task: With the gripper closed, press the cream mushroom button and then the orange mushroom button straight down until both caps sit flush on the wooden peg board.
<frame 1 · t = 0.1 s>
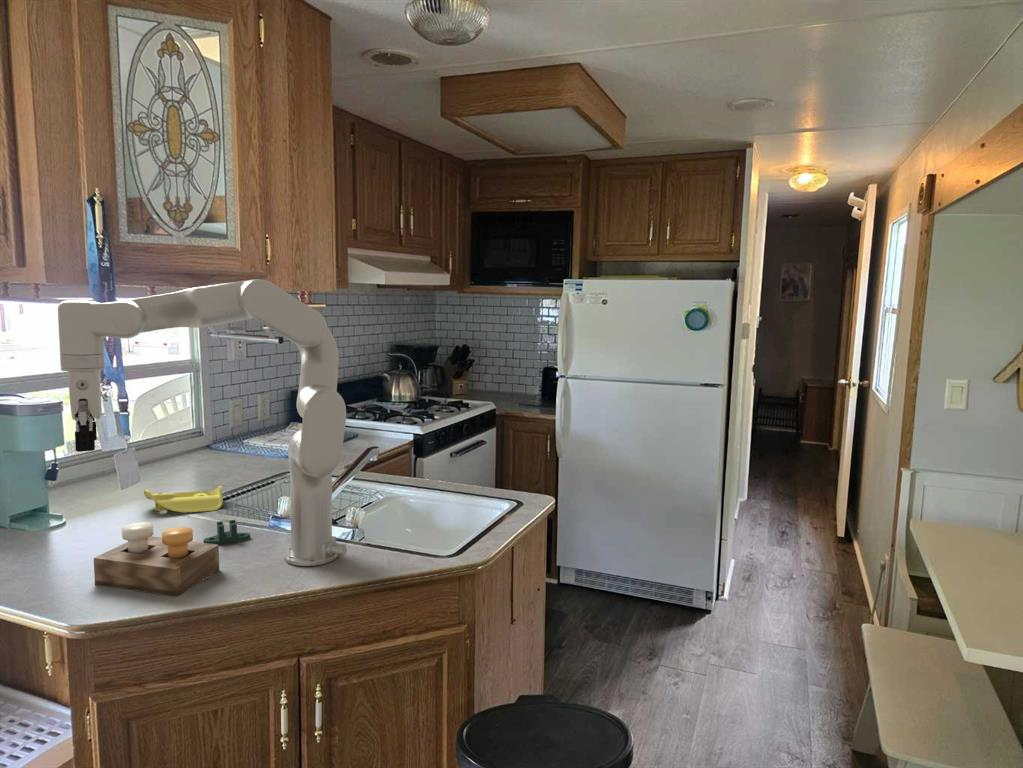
hand: (86, 445, 137), 31 cm above the counter, tool pointing down, fingers open, 9 cm apart
wooden peg board: (159, 577, 148), on the counter
cream button: (138, 539, 148), point 8 cm above the counter, slide at 0.0 cm
mount: (227, 542, 170), on the counter
plastic component: (184, 509, 194), on the counter
orange button: (177, 544, 146), point 8 cm above the counter, slide at 0.0 cm
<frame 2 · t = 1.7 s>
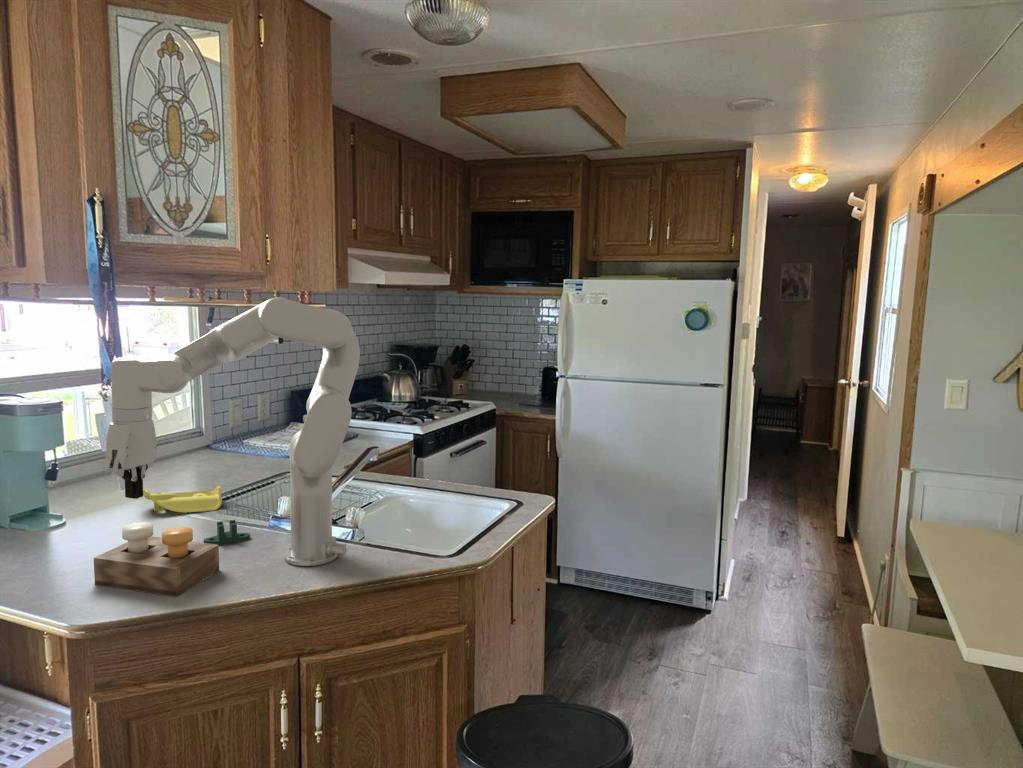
hand: (134, 497, 147), 18 cm above the counter, tool pointing down, fingers closed
nothing on the counter moved.
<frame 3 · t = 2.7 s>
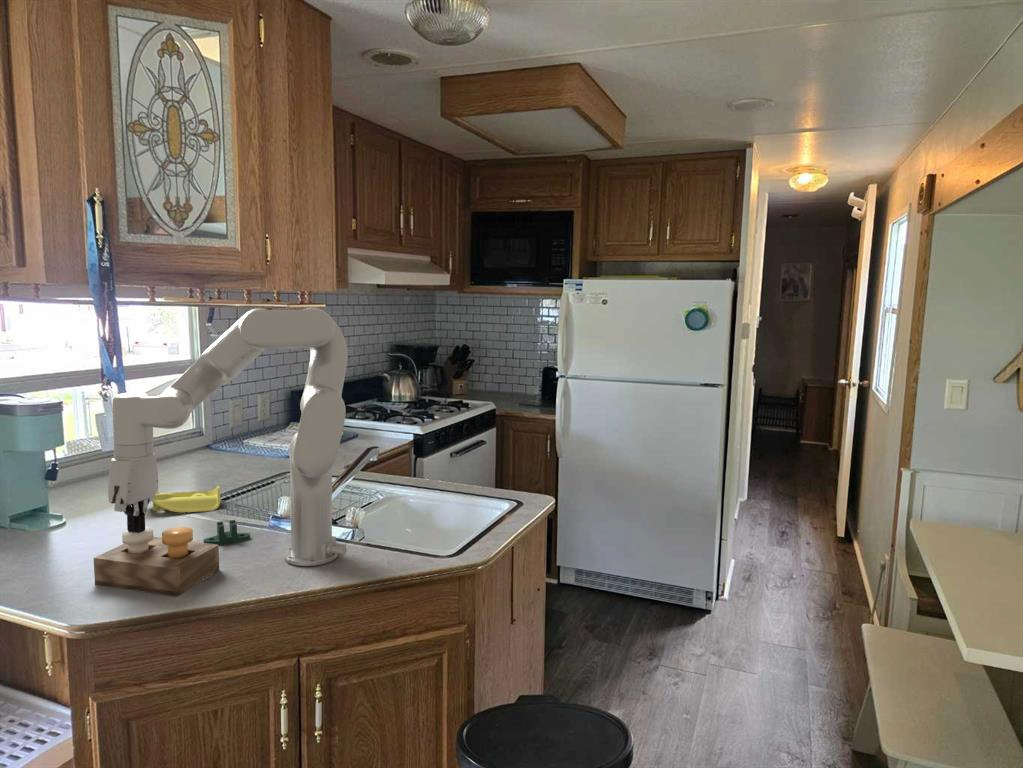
hand: (136, 530, 148), 10 cm above the counter, tool pointing down, fingers closed
cream button: (138, 544, 148), point 7 cm above the counter, slide at 1.0 cm, touching gripper
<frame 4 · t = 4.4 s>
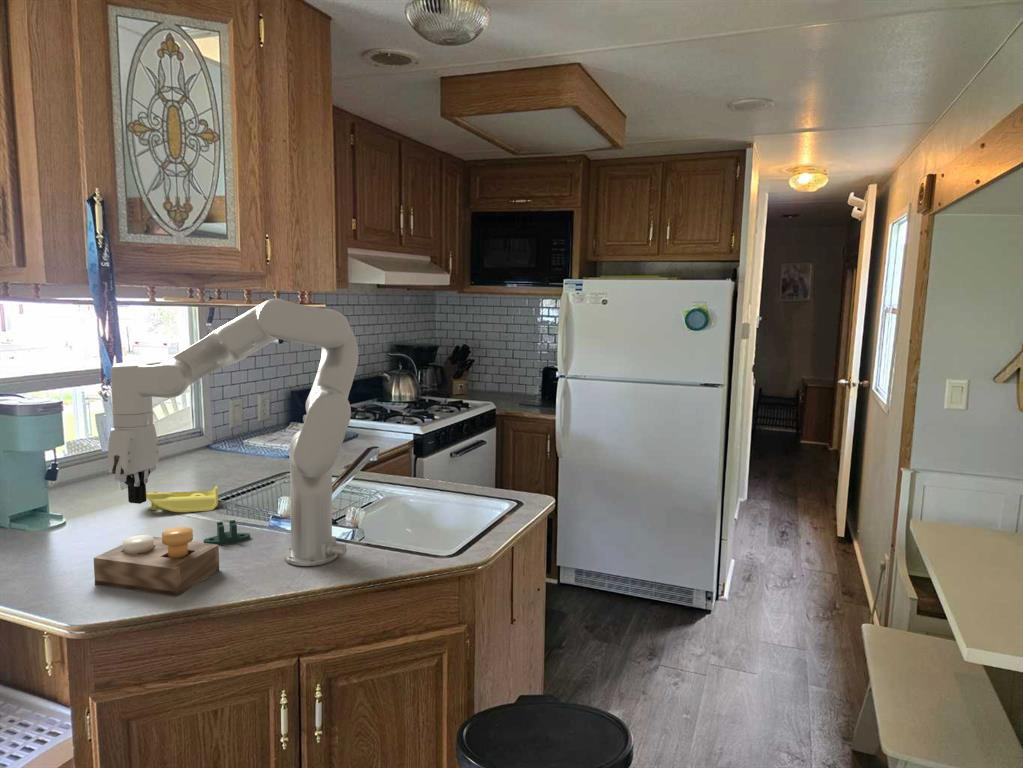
hand: (137, 501, 147), 17 cm above the counter, tool pointing down, fingers closed
cream button: (138, 552, 149), point 5 cm above the counter, slide at 3.0 cm, touching wooden peg board
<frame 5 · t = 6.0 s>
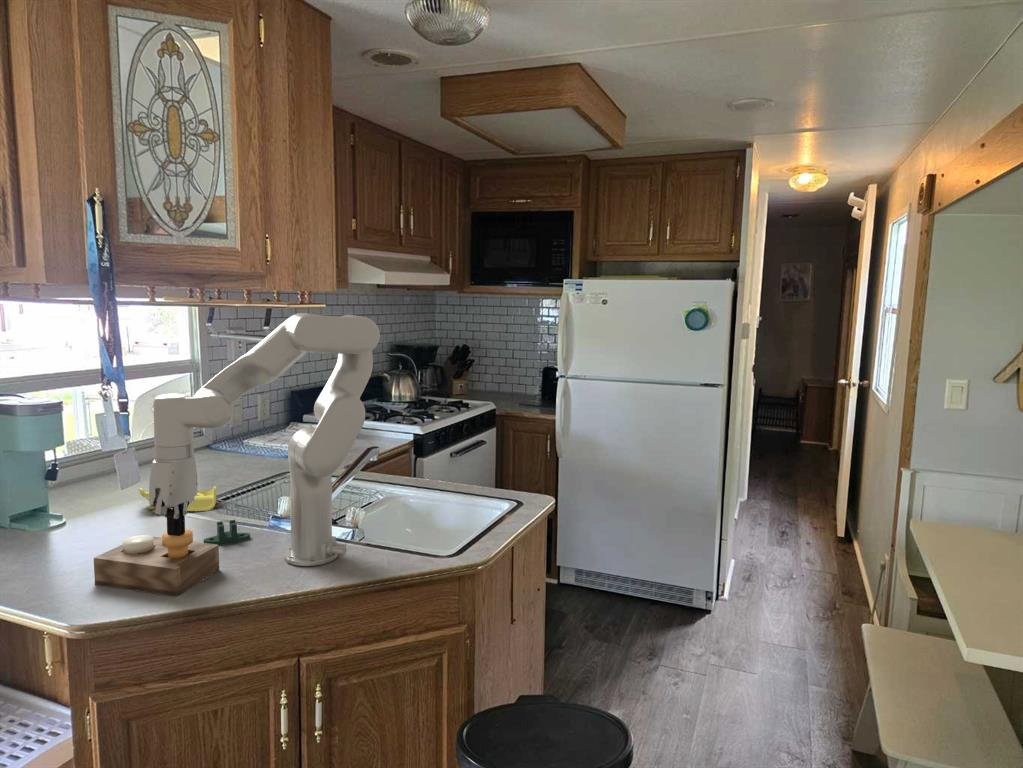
hand: (176, 534, 146), 11 cm above the counter, tool pointing down, fingers closed
orange button: (177, 547, 146), point 7 cm above the counter, slide at 0.5 cm, touching gripper
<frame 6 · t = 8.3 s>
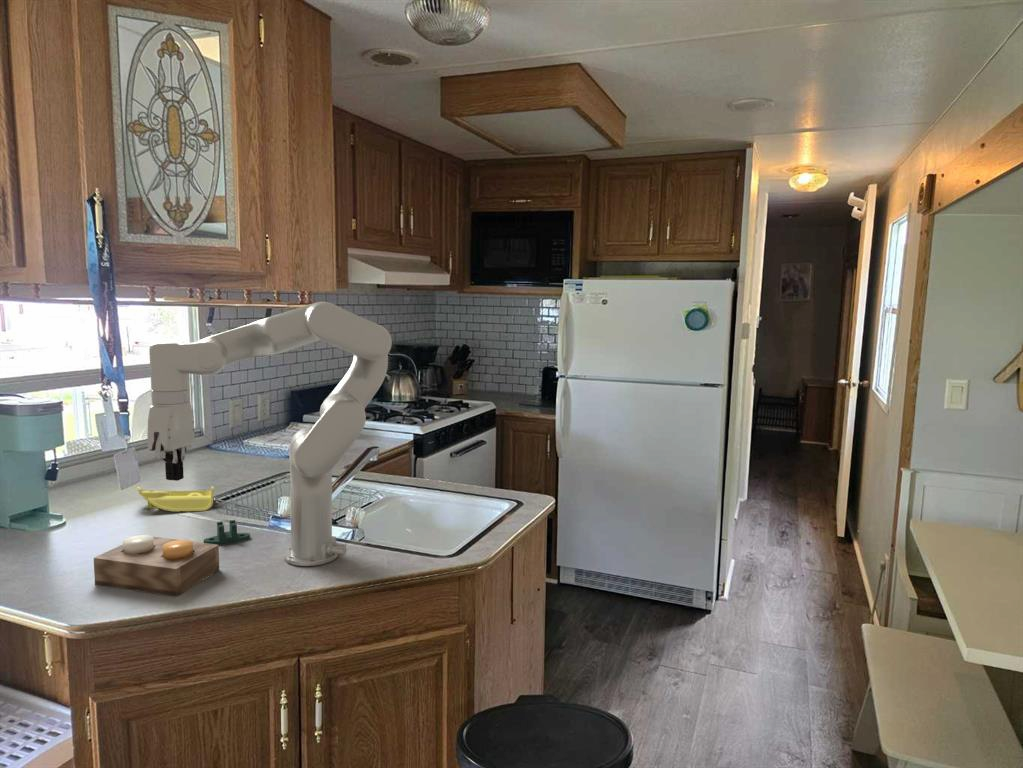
hand: (174, 479, 149), 22 cm above the counter, tool pointing down, fingers closed
orange button: (178, 558, 147), point 5 cm above the counter, slide at 3.0 cm, touching wooden peg board
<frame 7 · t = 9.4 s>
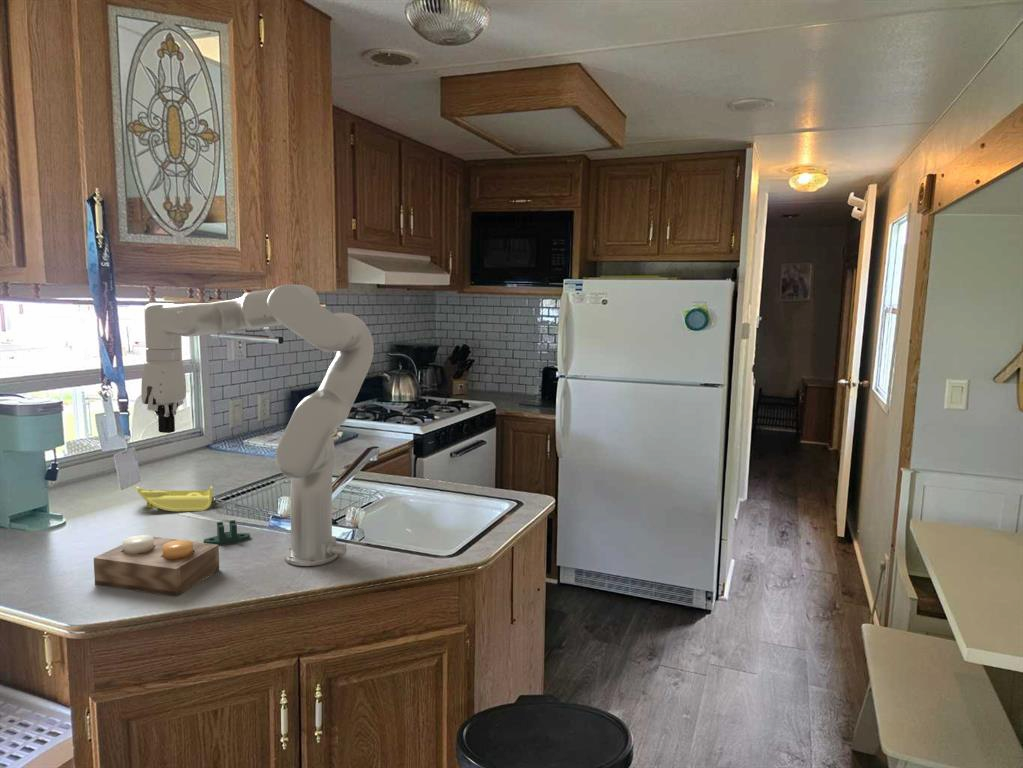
hand: (166, 431, 161), 29 cm above the counter, tool pointing down, fingers closed
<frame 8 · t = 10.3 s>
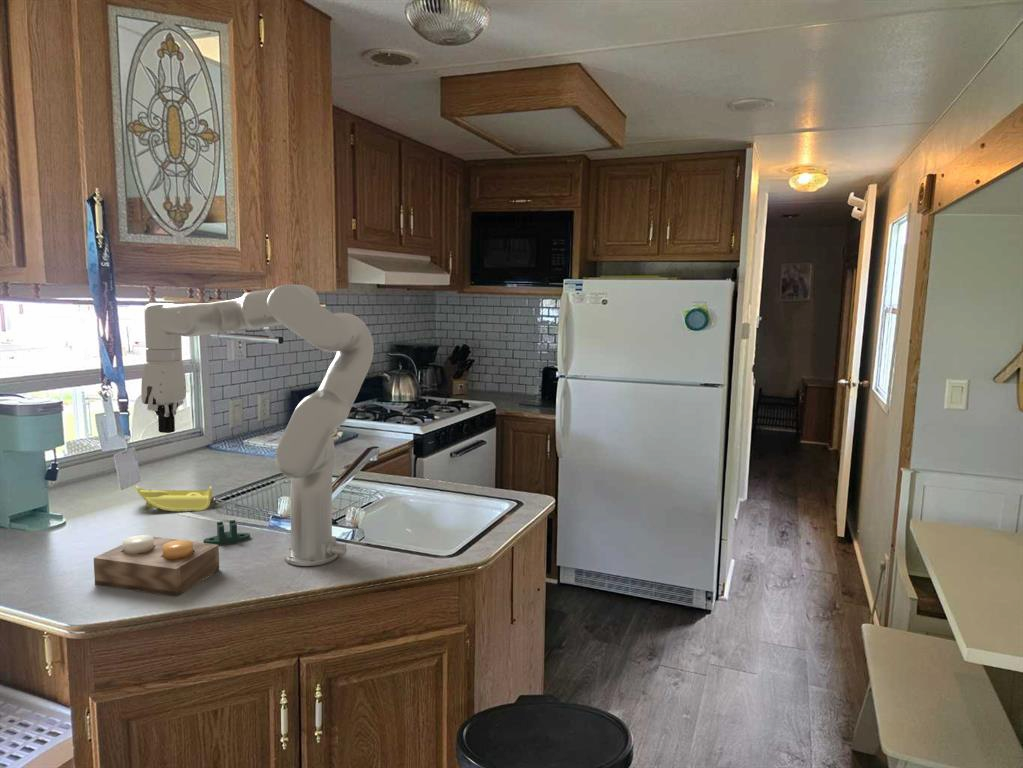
hand: (166, 431, 161), 29 cm above the counter, tool pointing down, fingers closed
at the end: cream button slide at 3.0 cm; orange button slide at 3.0 cm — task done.
